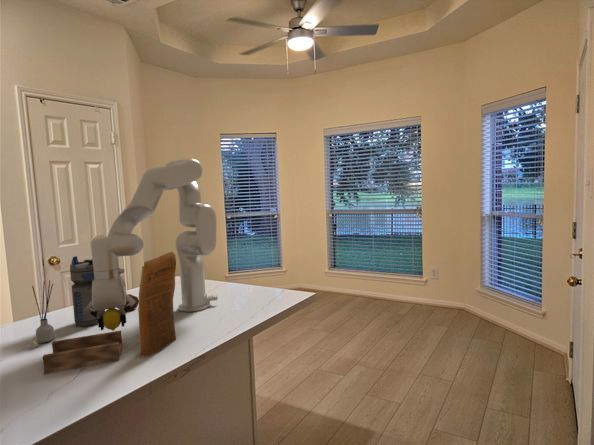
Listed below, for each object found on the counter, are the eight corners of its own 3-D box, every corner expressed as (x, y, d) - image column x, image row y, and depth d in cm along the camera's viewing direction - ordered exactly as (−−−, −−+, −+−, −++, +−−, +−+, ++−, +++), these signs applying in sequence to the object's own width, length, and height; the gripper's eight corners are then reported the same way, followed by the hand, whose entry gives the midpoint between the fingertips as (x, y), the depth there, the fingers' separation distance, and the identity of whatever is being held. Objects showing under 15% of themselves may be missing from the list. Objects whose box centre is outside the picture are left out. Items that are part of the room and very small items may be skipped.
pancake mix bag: (188, 334, 119) (182, 250, 117) (150, 360, 101) (143, 261, 99) (170, 333, 121) (164, 250, 119) (130, 359, 103) (122, 261, 101)
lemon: (125, 329, 122) (122, 306, 121) (107, 335, 118) (105, 311, 117) (118, 326, 125) (116, 303, 125) (101, 331, 121) (98, 308, 121)
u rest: (122, 345, 113) (121, 330, 113) (119, 360, 102) (118, 343, 102) (54, 356, 106) (53, 341, 106) (44, 374, 96) (42, 357, 95)
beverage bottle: (97, 328, 129) (91, 259, 127) (66, 326, 132) (60, 258, 130) (117, 318, 139) (112, 254, 137) (88, 317, 142) (83, 254, 140)
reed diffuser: (47, 336, 123) (41, 278, 121) (67, 336, 123) (62, 278, 121) (25, 349, 112) (18, 286, 111) (47, 348, 113) (41, 285, 111)
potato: (131, 312, 145) (129, 297, 145) (111, 312, 147) (109, 296, 147) (142, 307, 152) (140, 292, 152) (122, 306, 154) (121, 292, 154)
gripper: (135, 268, 126) (141, 318, 128) (79, 275, 120) (85, 328, 122) (135, 273, 119) (140, 326, 121) (75, 280, 113) (81, 336, 115)
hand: (112, 326), depth 121 cm, fingers closed on lemon, 5 cm apart
